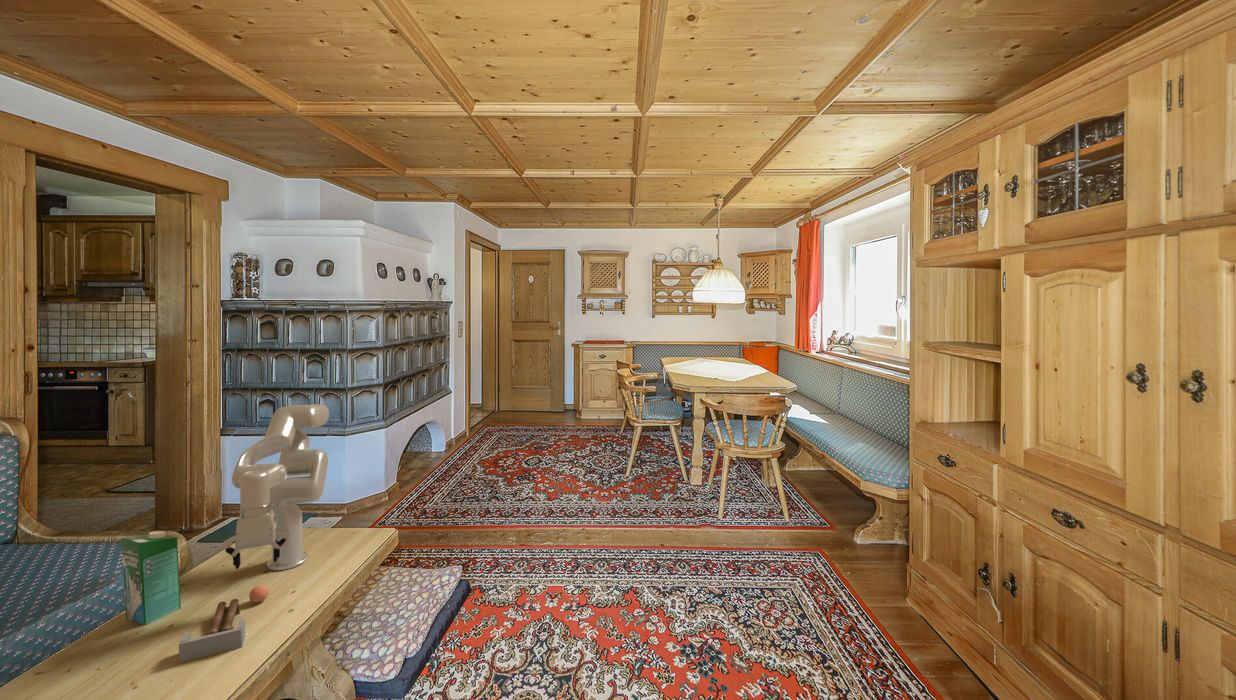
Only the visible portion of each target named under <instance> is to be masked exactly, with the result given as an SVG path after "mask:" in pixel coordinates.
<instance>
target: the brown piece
mask: <svg viewBox="0 0 1236 700" xmlns="http://www.w3.org/2000/svg"><path fill="white" fill-rule="evenodd" d="M239 601H240V600H239V599H238V598H233V599H231V600H230V603H229V606H227V602H226V601H220V602H219V603H218V604H217V606H216V610H215V612H214V616H213V618H212V622H211V625H210V628H209V631H208V633H207V635H211V634H215V633H219V632H223V631H228V630H232V629H235V626H233V622H234V620H235V616H236V615H240V613H241V603H239ZM223 618H224V622H223V626H222V628H221V629H219V628H220V625H221V622H222V619H223Z"/></svg>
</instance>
